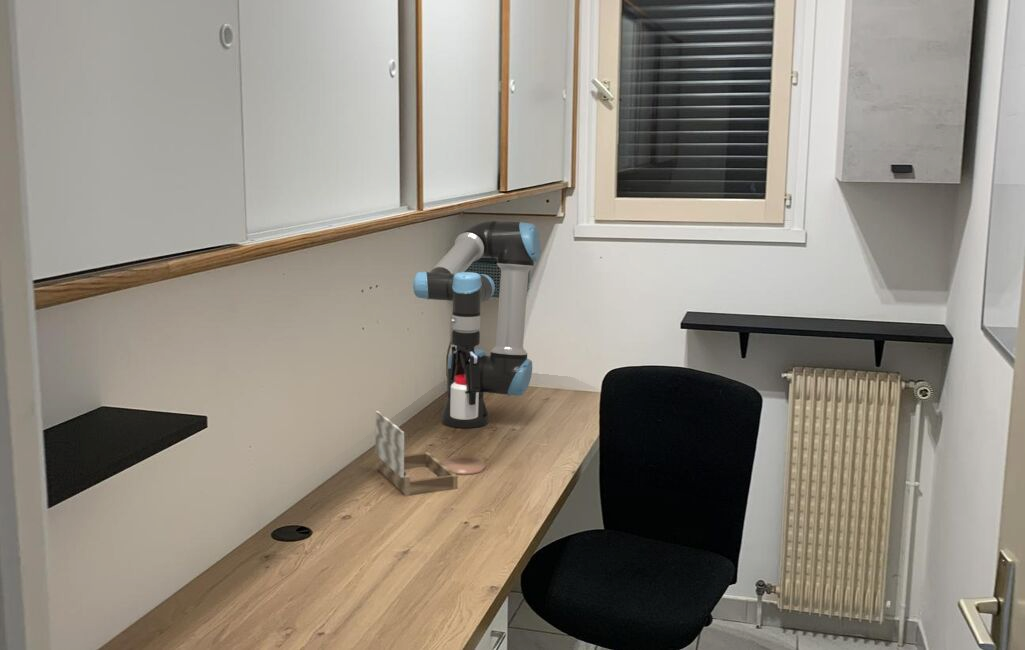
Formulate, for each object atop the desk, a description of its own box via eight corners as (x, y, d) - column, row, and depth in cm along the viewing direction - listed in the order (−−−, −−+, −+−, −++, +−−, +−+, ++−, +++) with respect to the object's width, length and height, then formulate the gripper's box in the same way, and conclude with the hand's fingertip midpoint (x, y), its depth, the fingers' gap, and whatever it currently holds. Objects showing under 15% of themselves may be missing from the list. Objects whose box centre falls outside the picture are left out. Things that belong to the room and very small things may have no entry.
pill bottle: (445, 413, 269) (446, 374, 267) (470, 410, 273) (471, 372, 271) (456, 420, 263) (457, 381, 261) (482, 418, 266) (483, 378, 264)
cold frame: (375, 471, 266) (375, 411, 263) (428, 464, 273) (429, 405, 270) (401, 496, 248) (401, 432, 245) (457, 488, 255) (458, 426, 252)
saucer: (434, 463, 273) (434, 460, 273) (473, 458, 279) (474, 455, 279) (451, 477, 263) (451, 474, 263) (491, 471, 268) (491, 469, 268)
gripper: (438, 323, 271) (437, 403, 275) (468, 338, 253) (466, 423, 257) (463, 322, 274) (461, 400, 278) (494, 336, 256) (492, 420, 260)
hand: (464, 411), depth 268 cm, fingers closed on pill bottle, 8 cm apart
